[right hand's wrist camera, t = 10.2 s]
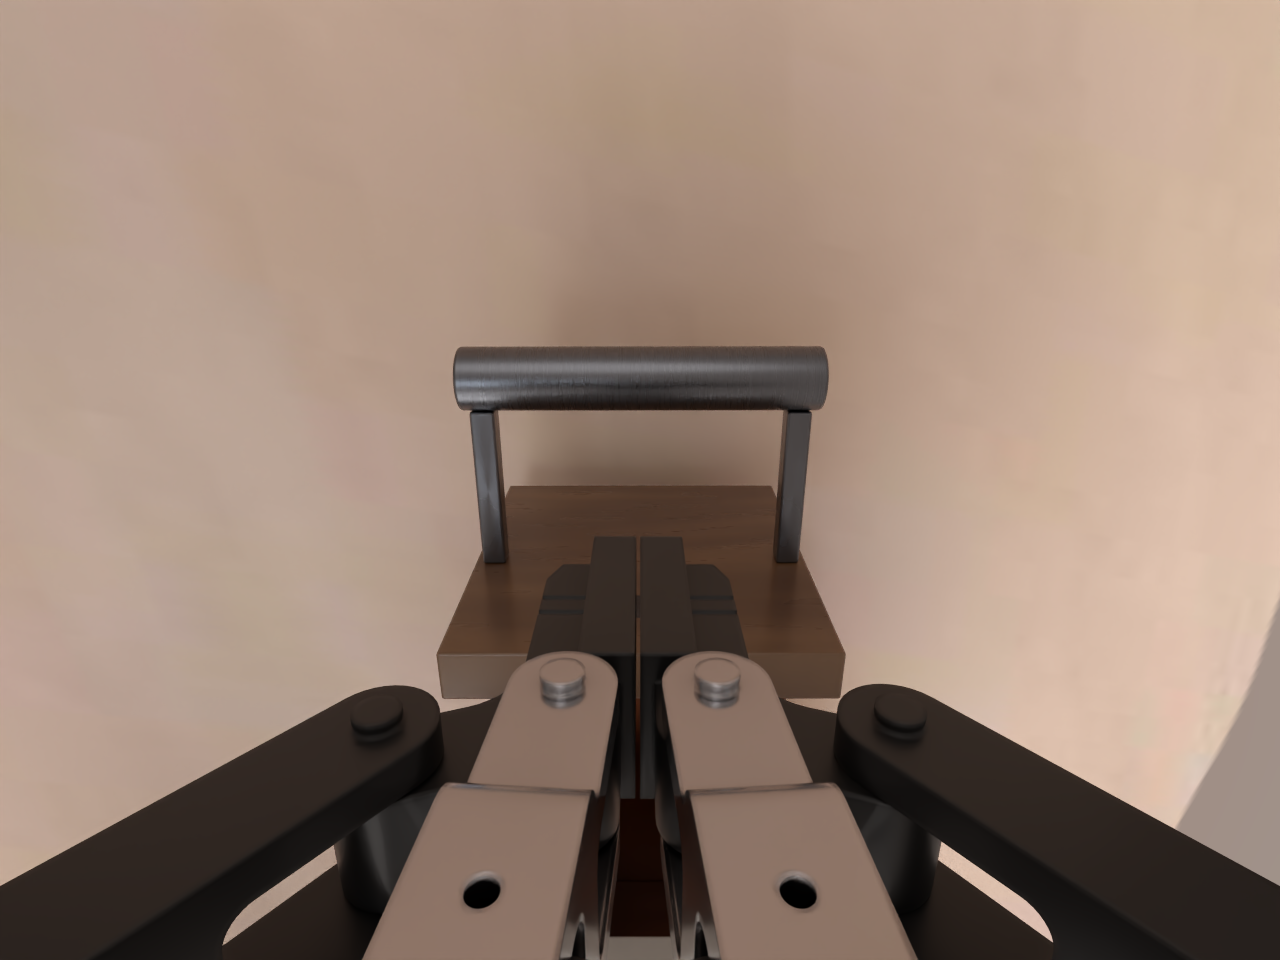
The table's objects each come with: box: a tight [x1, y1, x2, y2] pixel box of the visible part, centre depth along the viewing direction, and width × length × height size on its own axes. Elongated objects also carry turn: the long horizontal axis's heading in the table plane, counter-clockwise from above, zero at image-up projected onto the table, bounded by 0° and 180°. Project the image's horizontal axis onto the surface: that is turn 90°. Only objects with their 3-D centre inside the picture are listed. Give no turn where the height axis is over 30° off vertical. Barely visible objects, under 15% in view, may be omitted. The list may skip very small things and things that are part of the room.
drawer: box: [437, 346, 846, 937], centre depth 22 cm, size 23×9×9 cm, turn 0°
